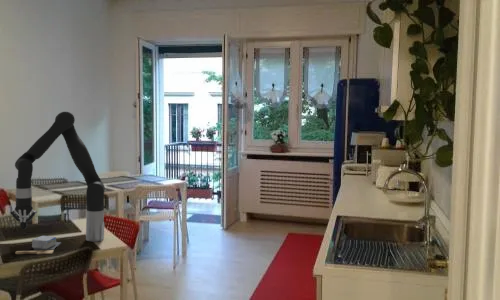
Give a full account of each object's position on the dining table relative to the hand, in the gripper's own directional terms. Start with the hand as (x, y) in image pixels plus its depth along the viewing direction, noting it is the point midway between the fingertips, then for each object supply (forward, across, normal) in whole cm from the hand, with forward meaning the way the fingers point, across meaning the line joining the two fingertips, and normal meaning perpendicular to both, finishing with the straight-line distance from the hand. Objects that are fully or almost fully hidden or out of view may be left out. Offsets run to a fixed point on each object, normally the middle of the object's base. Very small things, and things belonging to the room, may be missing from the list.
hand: (23, 228), depth 223 cm
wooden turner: (+10, -10, +11) cm, 18 cm away
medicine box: (+7, -6, 0) cm, 9 cm away
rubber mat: (+10, -12, 0) cm, 15 cm away
